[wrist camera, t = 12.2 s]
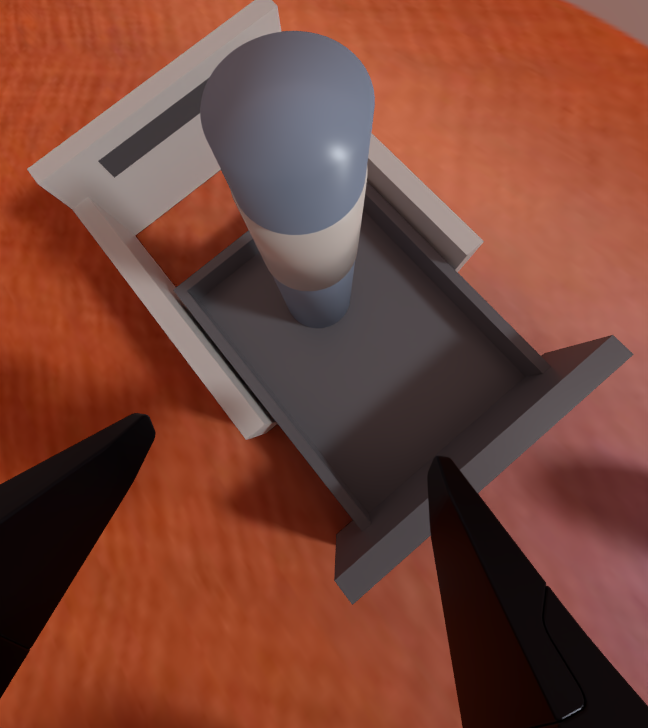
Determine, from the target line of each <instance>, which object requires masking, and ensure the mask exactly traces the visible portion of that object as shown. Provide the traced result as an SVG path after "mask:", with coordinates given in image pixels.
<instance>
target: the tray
mask: <svg viewBox="0 0 648 728" xmlns="http://www.w3.org/2000/svg"><path fill="white" fill-rule="evenodd" d="M173 291H174V292H175V293H176V294H177V296H178V297H179V298H180V299H181V301H182V302H183V303H184V305H185V306H186V307H187V308H188V310H189V311H190V312H191V313H192V315H193V316H194V317H195V319H196V320H197V321H198V322H199V324H200V325H201V326H202V328H203V329H204V330H205V331H206V333H207V334H208V335H209V336H210V338H211V339H212V340H213V342H214V343H215V344H216V345H217V347H218V348H219V349H220V351H221V352H222V353H223V354H224V356H225V357H226V358H227V359H228V361H229V362H230V363H231V365H232V366H233V367H234V368H235V370H236V371H237V372H238V374H239V375H240V376H241V377H242V379H243V380H244V381H245V382H246V384H247V385H248V386H249V388H250V389H251V390H252V391H253V393H254V394H255V395H256V397H257V398H258V399H259V400H260V402H261V403H262V404H263V405H264V407H265V408H266V409H267V411H268V412H269V413H270V414H271V416H272V417H273V418H274V420H275V421H276V422H277V423H278V425H279V426H280V427H281V428H282V430H283V431H284V432H285V434H286V435H287V436H288V437H289V439H290V440H291V441H292V443H293V444H294V445H295V446H296V448H297V449H298V450H299V451H300V453H301V454H302V455H303V457H304V458H305V459H306V460H307V462H308V463H309V464H310V466H311V467H312V468H313V469H314V471H315V472H316V473H317V474H318V476H319V477H320V478H321V480H322V481H323V482H324V483H325V485H326V486H327V487H328V489H329V490H330V491H331V492H332V494H333V495H334V496H335V497H336V499H337V500H338V501H339V503H340V504H341V505H342V506H343V508H344V509H345V510H346V512H347V513H348V514H349V515H350V517H351V518H352V519H353V521H351V522H350V523H349V524H348V525H347V526H346V527H345V528H343V529H342V530H341V531H340V532H339V533H338V534H336V554H335V578H334V581H335V582H336V583H337V585H338V586H339V587H340V589H341V590H342V591H343V593H344V594H345V595H346V597H347V598H348V600H349V601H350V602H351V604H352V605H353V604H354V603H355V602H356V601H357V600H358V599H360V598H361V597H362V596H363V595H364V594H365V593H366V592H367V591H369V590H370V589H371V588H372V587H373V586H374V585H375V584H376V583H378V582H379V581H380V580H381V579H382V578H383V577H384V576H385V575H387V574H388V573H389V572H390V571H391V570H392V569H393V568H394V567H395V566H397V565H398V564H399V563H400V562H401V561H402V560H403V559H404V558H406V557H407V556H408V555H409V554H410V553H411V552H412V551H413V550H415V549H416V548H417V547H418V546H419V545H420V544H421V543H422V542H424V541H425V540H426V539H427V538H428V537H429V536H430V535H431V533H430V521H429V503H428V485H427V474H428V470H429V468H430V466H431V463H432V461H433V459H434V457H435V456H436V455H439V456H446V457H449V458H451V459H452V460H453V462H454V463H455V464H456V466H457V467H458V468H459V469H460V471H461V472H462V473H463V475H464V476H465V477H466V479H467V480H468V481H469V483H470V484H471V485H472V487H473V488H474V489H475V490H476V492H477V493H479V492H480V491H481V490H482V489H483V488H484V487H485V486H486V485H488V484H489V483H490V482H491V481H492V480H493V479H494V478H495V477H497V476H498V475H499V474H500V473H501V472H502V471H503V470H504V469H506V468H507V467H508V466H509V465H510V464H511V463H512V462H513V461H515V460H516V459H517V458H518V457H519V456H520V455H521V454H522V453H523V452H525V451H526V450H527V449H528V448H529V447H530V446H531V445H532V444H534V443H535V442H536V441H537V440H538V439H539V438H540V437H541V436H543V435H544V434H545V433H546V432H547V431H548V430H549V429H550V428H552V427H553V426H554V425H555V424H556V423H557V422H558V421H559V420H561V419H562V418H563V417H564V416H565V415H566V414H567V413H568V412H570V411H571V410H572V409H573V408H574V407H575V406H576V405H577V404H578V403H580V402H581V401H582V400H583V399H584V398H585V397H586V396H587V395H589V394H590V393H591V392H592V391H593V390H594V389H595V388H596V387H598V386H599V385H600V384H601V383H602V382H603V381H604V380H605V379H607V378H608V377H609V376H610V375H611V374H612V373H613V372H614V371H616V370H617V369H618V368H619V367H620V366H621V365H622V364H623V363H625V362H626V361H627V360H628V359H629V358H630V357H631V356H632V355H634V354H633V353H632V352H630V351H629V350H628V349H627V348H626V347H625V346H624V345H623V344H622V343H621V342H620V341H619V340H618V339H617V338H616V337H615V336H613V335H611V336H607V337H603V338H600V339H596V340H592V341H589V342H585V343H581V344H577V345H574V346H570V347H566V348H563V349H559V350H555V351H551V352H548V353H544V354H543V355H542V356H540V355H539V354H538V353H537V352H536V351H535V350H534V349H533V348H532V347H531V346H530V345H529V344H528V343H527V342H526V341H525V340H524V339H523V338H522V337H521V336H520V335H519V334H518V333H517V332H516V331H515V330H514V329H513V328H512V327H511V326H510V325H509V324H508V323H507V322H506V321H505V320H504V319H503V318H502V317H501V316H500V315H499V314H498V313H497V312H496V311H495V310H494V309H493V308H492V307H491V306H490V305H489V304H488V303H487V302H486V301H485V300H484V299H483V298H482V297H481V296H480V295H479V294H478V293H477V292H476V291H475V290H474V289H473V288H472V287H471V286H470V285H469V284H468V283H467V282H466V281H465V280H464V279H463V278H462V277H461V276H460V275H459V274H458V273H457V272H456V271H455V270H454V269H453V267H452V266H451V265H450V264H449V263H448V262H447V261H446V260H445V259H444V258H443V257H442V256H441V255H440V254H439V253H438V252H437V251H436V250H435V249H434V248H433V247H432V246H431V245H430V244H429V243H428V242H427V241H426V240H425V239H424V238H423V237H422V236H421V235H420V234H419V233H418V232H417V231H416V230H415V229H414V228H413V227H412V226H411V225H410V224H409V223H408V222H407V221H406V220H405V219H404V218H403V217H402V216H401V215H400V214H399V213H398V212H397V211H396V210H395V209H394V208H393V207H392V206H391V205H390V204H389V203H388V202H387V201H386V200H385V199H384V198H383V197H382V196H381V195H380V194H379V193H378V192H377V191H376V190H375V189H374V188H373V187H372V186H371V185H370V184H369V183H368V182H367V183H366V191H365V198H364V206H363V213H362V221H361V228H360V236H359V243H358V251H357V256H356V259H355V265H354V273H353V281H352V289H351V297H350V304H349V307H348V310H347V312H346V313H345V315H344V316H343V317H342V318H341V319H340V320H339V321H338V322H337V323H335V324H333V325H331V326H329V327H325V328H311V327H307V326H305V325H303V324H301V323H299V322H298V321H297V320H296V319H295V318H294V317H293V316H292V314H291V313H290V311H289V309H288V307H287V305H286V302H285V300H284V298H283V296H282V294H281V292H280V290H279V288H278V286H277V284H276V282H275V280H274V278H273V276H272V274H271V273H270V271H269V270H268V268H267V266H266V264H265V262H264V260H263V258H262V256H261V254H260V252H259V250H258V248H257V246H256V244H255V242H254V240H253V238H252V236H251V234H250V232H249V230H248V231H247V232H246V233H245V234H243V235H242V236H241V237H240V238H238V239H237V240H236V241H235V242H233V243H232V244H231V245H230V246H228V247H227V248H226V249H224V250H223V251H222V252H221V253H219V254H218V255H217V256H216V257H214V258H213V259H212V260H211V261H209V262H208V263H207V264H205V265H204V266H203V267H202V268H200V269H199V270H198V271H197V272H195V273H194V274H193V275H192V276H190V277H189V278H188V279H186V280H185V281H184V282H183V283H181V284H180V285H179V286H178V287H176V288H175V289H174V290H173Z"/></svg>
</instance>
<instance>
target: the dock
mask: <svg viewBox="0 0 648 728" xmlns="http://www.w3.org/2000/svg"><path fill="white" fill-rule="evenodd" d="M276 32H281V26H280V20H279V14H278V7H277V5H276V4H275V3H274V2H273V1H272V0H254V1H253V2H252V3H250V4H249V5H248V6H246V7H245V8H244V9H242V10H241V11H240V12H238V13H237V14H235V15H234V16H233V17H231V18H230V19H229V20H227V21H226V22H225V23H223V24H222V25H221V26H219V27H218V28H217V29H215V30H214V31H213V32H211V33H210V34H209V35H207V36H206V37H204V38H203V39H202V40H200V41H199V42H198V43H196V44H195V45H194V46H192V47H191V48H190V49H188V50H187V51H186V52H184V53H183V54H182V55H180V56H179V57H178V58H176V59H175V60H173V61H172V62H171V63H169V64H168V65H167V66H165V67H164V68H163V69H161V70H160V71H159V72H157V73H156V74H155V75H153V76H152V77H151V78H149V79H148V80H147V81H145V82H144V83H142V84H141V85H140V86H138V87H137V88H136V89H134V90H133V91H132V92H130V93H129V94H128V95H126V96H125V97H124V98H122V99H121V100H120V101H118V102H117V103H115V104H114V105H113V106H111V107H110V108H109V109H107V110H106V111H105V112H103V113H102V114H101V115H99V116H98V117H97V118H95V119H94V120H93V121H91V122H90V123H89V124H87V125H86V126H84V127H83V128H82V129H80V130H79V131H78V132H76V133H75V134H74V135H72V136H71V137H70V138H68V139H67V140H66V141H64V142H63V143H62V144H60V145H59V146H58V147H56V148H55V149H53V150H52V151H51V152H49V153H48V154H47V155H45V156H44V157H43V158H41V159H40V160H39V161H37V162H36V163H35V164H33V165H32V166H31V167H29V168H28V169H27V170H28V171H29V173H30V174H31V175H32V177H33V178H34V179H35V181H36V182H37V183H38V184H39V185H40V186H41V187H43V188H44V189H45V190H47V191H48V192H49V193H51V194H52V195H54V196H55V197H56V198H58V199H59V200H60V201H62V202H63V203H64V204H66V205H67V206H68V207H70V208H71V209H72V210H73V211H74V212H75V214H76V215H77V216H78V218H79V219H80V220H81V222H82V223H83V224H84V225H85V227H86V228H87V229H88V231H89V232H90V233H91V235H92V236H93V237H94V239H95V240H96V241H97V243H98V244H99V245H100V247H101V248H102V249H103V251H104V252H105V253H106V255H107V256H108V257H109V259H110V260H111V261H112V263H113V264H114V265H115V267H116V268H117V269H118V271H119V272H120V273H121V275H122V276H123V277H124V279H125V280H126V281H127V282H128V284H129V285H130V286H131V288H132V289H133V290H134V292H135V293H136V294H137V296H138V297H139V298H140V300H141V301H142V302H143V304H144V305H145V306H146V308H147V309H148V310H149V312H150V313H151V314H152V316H153V317H154V318H155V320H156V321H157V322H158V324H159V325H160V326H161V328H162V329H163V330H164V332H165V333H166V334H167V336H168V337H169V338H170V339H171V341H172V342H173V343H174V345H175V346H176V347H177V349H178V350H179V351H180V353H181V354H182V355H183V357H184V358H185V359H186V361H187V362H188V363H189V365H190V366H191V367H192V369H193V370H194V371H195V373H196V374H197V375H198V377H199V378H200V379H201V381H202V382H203V383H204V385H205V386H206V387H207V389H208V390H209V391H210V392H211V394H212V395H213V396H214V398H215V399H216V400H217V402H218V403H219V404H220V406H221V407H222V408H223V410H224V411H225V412H226V414H227V415H228V416H229V418H230V419H231V420H232V422H233V423H234V424H235V426H236V427H237V428H238V430H239V431H240V432H241V434H242V435H243V436H244V438H245V439H246V440H247V439H250V438H253V437H256V436H259V435H262V434H265V433H267V432H268V431H269V430H271V429H272V428H273V427H274V426H275V425H277V424H278V423H277V422H276V421H275V420H274V418H273V417H272V416H271V414H270V413H269V412H268V411H267V409H266V408H265V407H264V405H263V404H262V403H261V402H260V400H259V399H258V398H257V397H256V395H255V394H254V393H253V391H252V390H251V389H250V388H249V386H248V385H247V384H246V382H245V381H244V380H243V379H242V377H241V376H240V375H239V374H238V372H237V371H236V370H235V368H234V367H233V366H232V365H231V363H230V362H229V361H228V359H227V358H226V357H225V356H224V354H223V353H222V352H221V351H220V349H219V348H218V347H217V345H216V344H215V343H214V342H213V340H212V339H211V338H210V336H209V335H208V334H207V333H206V331H205V330H204V329H203V328H202V326H201V325H200V324H199V322H198V321H197V320H196V319H195V317H194V316H193V315H192V313H191V312H190V311H189V310H188V308H187V307H186V306H185V305H184V303H183V302H182V301H181V299H180V298H179V297H178V296H177V294H176V293H175V292H174V291H173V290H174V289H175V288H176V287H175V286H174V285H173V283H172V282H171V281H170V279H169V278H168V277H167V276H166V274H165V273H164V272H163V271H162V269H161V268H160V267H159V265H158V264H157V263H156V262H155V260H154V259H153V258H152V257H151V255H150V254H149V253H148V251H147V250H146V249H145V248H144V246H143V245H142V244H141V243H140V241H139V240H138V239H137V237H136V236H135V235H137V234H138V233H139V232H141V231H142V230H143V229H145V228H146V227H147V226H148V225H150V224H151V223H152V222H154V221H155V220H156V219H157V218H159V217H160V216H161V215H163V214H164V213H165V212H167V211H168V210H169V209H170V208H172V207H173V206H174V205H176V204H177V203H178V202H179V201H181V200H182V199H183V198H185V197H186V196H187V195H189V194H190V193H191V192H192V191H194V190H195V189H196V188H198V187H199V186H200V185H201V184H203V183H204V182H205V181H207V180H208V179H209V178H211V177H212V176H213V175H214V174H216V173H217V172H218V171H220V170H221V168H220V166H219V164H218V162H217V160H216V158H215V156H214V154H213V152H212V150H211V148H210V146H209V144H208V142H207V140H206V137H205V135H204V132H203V129H202V124H201V117H200V106H201V99H202V95H203V91H204V88H205V86H206V83H207V81H208V79H209V77H210V76H211V74H212V72H213V71H214V70H215V68H216V67H217V66H218V64H219V63H220V62H221V61H222V60H223V59H224V58H225V57H226V56H227V55H229V54H230V53H231V52H232V51H233V50H235V49H236V48H238V47H239V46H241V45H243V44H244V43H246V42H248V41H250V40H253V39H255V38H258V37H260V36H263V35H267V34H271V33H276ZM367 168H368V172H367V182H368V183H369V184H370V185H371V186H372V187H373V188H374V189H375V190H376V191H377V192H378V193H379V194H380V195H381V196H382V197H383V198H384V199H385V200H386V201H387V202H388V203H389V204H390V205H391V206H392V207H393V208H394V209H395V210H396V211H397V212H398V213H399V214H400V215H401V216H402V217H403V218H404V219H405V220H406V221H407V222H408V223H409V224H410V225H411V226H412V227H413V228H414V229H415V230H416V231H417V232H418V233H419V234H420V235H421V236H422V237H423V238H424V239H425V240H426V241H427V242H428V243H429V244H430V245H431V246H432V247H433V248H434V249H435V250H436V251H437V252H438V253H439V254H440V255H441V256H442V257H443V258H444V259H445V260H446V261H447V262H448V263H449V264H450V265H451V266H452V267H453V269H454V270H455V271H456V272H458V271H459V270H460V269H461V268H462V267H463V265H464V264H465V263H466V262H467V261H468V260H469V258H470V257H471V256H472V255H473V254H474V253H475V251H476V250H477V249H478V248H479V247H480V245H481V244H482V243H483V242H484V241H483V240H482V239H481V238H480V237H479V236H478V235H477V234H476V233H475V232H474V231H473V230H472V229H471V228H470V227H468V226H467V225H466V224H465V223H464V222H463V221H462V220H461V219H460V218H459V217H458V216H457V215H456V214H455V213H454V212H453V211H452V210H451V209H450V208H449V207H448V206H447V205H446V204H445V203H444V202H443V201H441V200H440V199H439V198H438V197H437V196H436V195H435V194H434V193H433V192H432V191H431V190H430V189H429V188H428V187H427V186H426V185H425V184H424V183H423V182H422V181H421V180H420V179H419V178H418V177H417V176H415V175H414V174H413V173H412V172H411V171H410V170H409V169H408V168H407V167H406V166H405V165H404V164H403V163H402V162H401V161H400V160H399V159H398V158H397V157H396V156H395V155H394V154H393V153H392V152H391V151H390V150H388V149H387V148H386V147H385V146H384V145H383V144H382V143H381V142H380V141H379V140H378V139H377V138H376V137H375V136H374V135H373V134H372V133H371V138H370V146H369V154H368V162H367Z"/></svg>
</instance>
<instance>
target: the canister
mask: <svg viewBox="0 0 648 728" xmlns="http://www.w3.org/2000/svg"><path fill="white" fill-rule="evenodd" d="M374 100H375V97H374V90H373V85H372V82H371V79H370V76H369V74H368V72H367V70H366V68H365V67H364V65H363V64H362V63H361V61H360V60H359V59H358V58H357V57H356V56H355V54H354V53H352V52H351V51H350V50H349V49H348V48H346V47H345V46H343V45H342V44H340V43H339V42H337V41H335V40H333V39H330V38H328V37H325V36H322V35H319V34H315V33H310V32H303V31H283V32H276V33H271V34H267V35H263V36H260V37H258V38H255V39H253V40H250V41H248V42H246V43H244V44H243V45H241V46H239V47H238V48H236V49H235V50H233V51H232V52H231V53H230V54H229V55H227V56H226V57H225V58H224V59H223V60H222V61H221V62H220V63H219V64H218V66H217V67H216V68H215V70H214V71H213V72H212V74H211V76H210V77H209V79H208V81H207V83H206V86H205V88H204V91H203V95H202V99H201V106H200V117H201V124H202V129H203V132H204V135H205V137H206V140H207V142H208V144H209V146H210V148H211V150H212V152H213V154H214V156H215V158H216V160H217V162H218V164H219V166H220V168H221V171H222V173H223V175H224V177H225V179H226V181H227V183H228V185H229V187H230V189H231V193H232V196H233V199H234V201H235V203H236V205H237V207H238V209H239V211H240V213H241V215H242V217H243V219H244V221H245V223H246V225H247V228H248V230H249V232H250V234H251V236H252V238H253V240H254V242H255V244H256V246H257V248H258V250H259V252H260V254H261V256H262V258H263V260H264V262H265V264H266V266H267V268H268V270H269V271H270V273H271V274H272V276H273V278H274V280H275V282H276V284H277V286H278V288H279V290H280V292H281V294H282V296H283V298H284V300H285V302H286V305H287V307H288V309H289V311H290V313H291V314H292V316H293V317H294V318H295V319H296V320H297V321H298V322H299V323H301V324H303V325H305V326H307V327H311V328H325V327H329V326H331V325H333V324H335V323H337V322H338V321H339V320H340V319H341V318H342V317H343V316H344V315H345V313H346V312H347V310H348V307H349V304H350V297H351V289H352V281H353V273H354V265H355V259H356V256H357V251H358V243H359V236H360V228H361V221H362V213H363V206H364V198H365V191H366V183H367V172H368V168H367V162H368V154H369V146H370V138H371V130H372V122H373V114H374Z"/></svg>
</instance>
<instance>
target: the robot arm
mask: <svg viewBox="0 0 648 728" xmlns="http://www.w3.org/2000/svg"><path fill="white" fill-rule="evenodd" d="M154 438H155V430H154V427H153V425H152V422H151V420H150V417H149V416H148V415H146V414H140V413H134V414H131V415H129V416H127V417H125V418H124V419H122V420H120V421H118V422H116V423H114V424H112V425H110V426H109V427H107V428H105V429H103V430H101V431H99V432H97V433H96V434H94V435H92V436H90V437H88V438H86V439H84V440H82V441H81V442H79V443H77V444H75V445H73V446H71V447H69V448H67V449H66V450H64V451H62V452H60V453H58V454H56V455H54V456H53V457H51V458H49V459H47V460H45V461H43V462H41V463H39V464H38V465H36V466H34V467H32V468H30V469H28V470H26V471H24V472H23V473H21V474H19V475H17V476H15V477H13V478H11V479H10V480H8V481H6V482H4V483H2V484H0V698H1V697H2V695H3V693H4V692H5V690H6V688H7V687H8V685H9V684H10V682H11V680H12V679H13V677H14V675H15V674H16V672H17V671H18V669H19V667H20V666H21V664H22V662H23V661H24V659H25V658H26V656H27V654H28V653H29V651H30V648H31V647H32V646H33V644H34V643H35V641H36V639H37V638H38V636H39V635H40V633H41V631H42V630H43V628H44V626H45V625H46V623H47V622H48V620H49V618H50V617H51V615H52V613H53V612H54V610H55V609H56V607H57V605H58V604H59V602H60V600H61V599H62V597H63V596H64V594H65V592H66V591H67V589H68V587H69V586H70V584H71V583H72V581H73V579H74V578H75V576H76V574H77V573H78V571H79V570H80V568H81V566H82V565H83V563H84V561H85V560H86V558H87V557H88V555H89V553H90V552H91V550H92V548H93V547H94V545H95V544H96V542H97V540H98V539H99V537H100V535H101V534H102V532H103V531H104V529H105V527H106V526H107V524H108V523H109V521H110V519H111V518H112V516H113V514H114V513H115V511H116V510H117V508H118V506H119V505H120V503H121V501H122V500H123V498H124V497H125V495H126V493H127V492H128V490H129V488H130V487H131V485H132V483H133V481H134V479H135V478H136V476H137V474H138V472H139V469H140V467H141V465H142V463H143V461H144V459H145V457H146V455H147V453H148V451H149V449H150V447H151V445H152V443H153V441H154ZM427 485H428V503H429V521H430V533H431V540H432V546H433V552H434V558H435V564H436V570H437V576H438V582H439V588H440V594H441V600H442V606H443V612H444V618H445V624H446V630H447V636H448V642H449V648H450V654H451V660H452V666H453V672H454V678H455V684H456V690H457V696H458V702H459V708H460V714H461V720H462V726H463V728H648V706H647V705H646V703H645V702H644V701H643V700H642V699H641V698H640V697H639V695H638V694H637V693H636V692H635V691H634V690H633V688H632V687H631V686H630V685H629V684H628V683H627V681H626V680H625V679H624V678H623V677H622V676H621V675H620V673H619V672H618V671H617V670H616V669H615V668H614V666H613V665H612V664H611V663H610V662H609V661H608V659H607V658H606V657H605V656H604V655H603V653H602V652H601V651H600V650H599V649H598V648H597V646H596V645H595V644H594V643H593V642H592V640H591V639H590V638H589V637H588V636H587V634H586V633H585V632H584V631H583V630H582V628H581V627H580V626H579V624H578V623H577V622H576V621H575V619H574V618H573V617H572V616H571V614H570V613H569V612H568V611H567V609H566V608H565V607H564V605H563V604H562V603H561V602H560V600H559V599H558V598H557V596H556V595H555V594H554V592H553V591H552V590H551V588H550V587H549V586H546V582H545V581H544V580H543V578H542V577H541V576H540V574H539V573H538V572H537V570H536V569H535V568H534V566H533V565H532V564H531V562H530V561H529V560H528V559H527V557H526V556H525V555H524V553H523V552H522V551H521V549H520V548H519V547H518V545H517V544H516V543H515V542H514V540H513V539H512V538H511V536H510V535H509V534H508V532H507V531H506V530H505V528H504V527H503V526H502V524H501V523H500V522H499V521H498V519H497V518H496V517H495V515H494V514H493V513H492V511H491V510H490V509H489V507H488V506H487V505H486V504H485V502H484V501H483V500H482V498H481V497H480V496H479V494H478V493H477V492H476V490H475V489H474V488H473V487H472V485H471V484H470V483H469V481H468V480H467V479H466V477H465V476H464V475H463V473H462V472H461V471H460V469H459V468H458V467H457V466H456V464H455V463H454V462H453V460H452V459H451V458H449V457H446V456H439V455H436V456H435V457H434V459H433V461H432V463H431V466H430V468H429V470H428V474H427Z"/></svg>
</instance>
